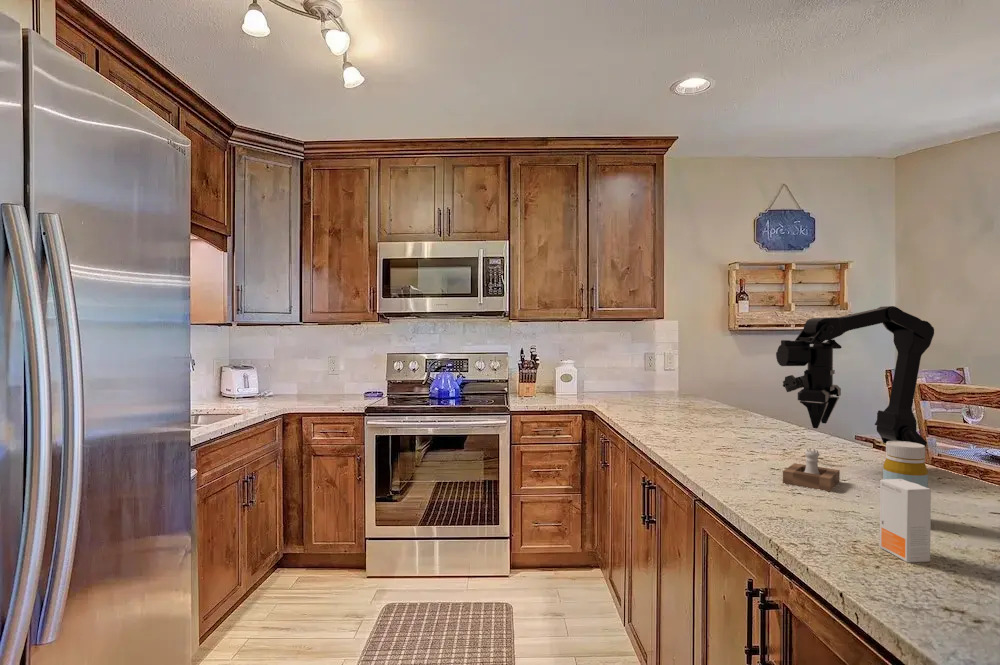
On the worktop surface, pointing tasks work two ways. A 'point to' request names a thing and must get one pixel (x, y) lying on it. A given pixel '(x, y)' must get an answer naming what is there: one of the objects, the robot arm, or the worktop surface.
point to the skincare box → (905, 519)
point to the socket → (811, 477)
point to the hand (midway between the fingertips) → (819, 425)
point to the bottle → (905, 462)
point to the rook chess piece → (812, 461)
